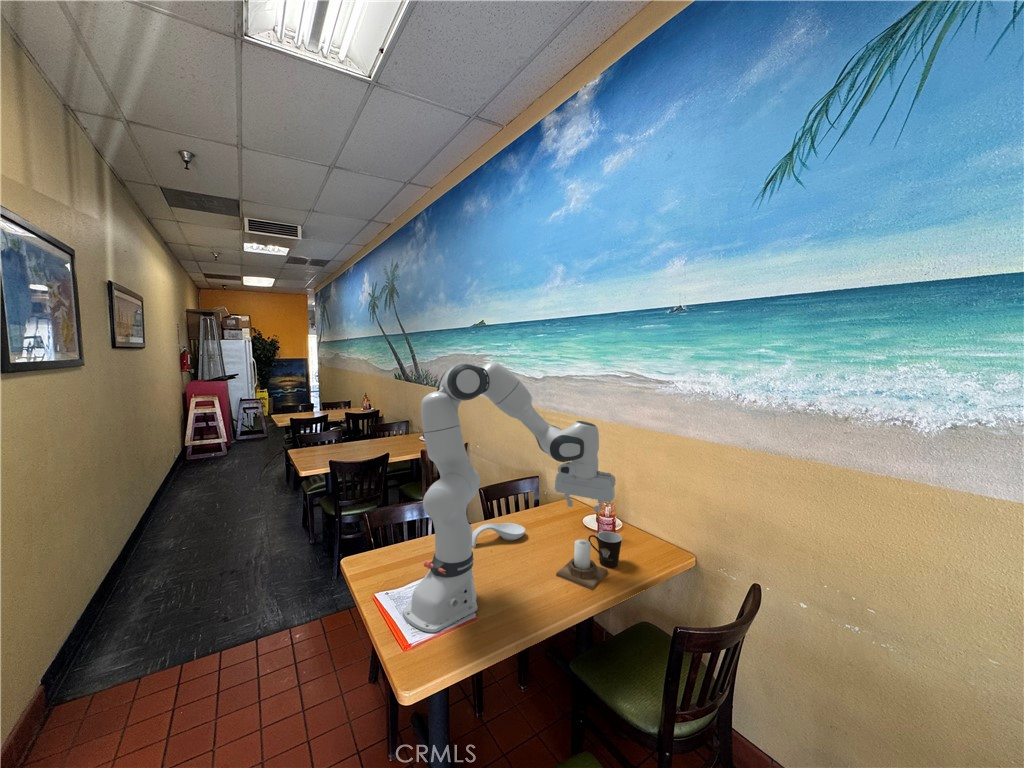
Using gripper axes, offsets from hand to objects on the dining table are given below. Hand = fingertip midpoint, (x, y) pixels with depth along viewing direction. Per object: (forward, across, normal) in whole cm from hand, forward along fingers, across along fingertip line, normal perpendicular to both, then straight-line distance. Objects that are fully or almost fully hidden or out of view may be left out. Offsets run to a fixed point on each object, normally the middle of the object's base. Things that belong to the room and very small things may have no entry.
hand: (583, 509), depth 131 cm
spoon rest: (+24, +37, -8) cm, 45 cm away
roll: (+22, 0, 0) cm, 22 cm away
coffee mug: (+23, -5, -12) cm, 27 cm away
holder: (+23, 0, 0) cm, 23 cm away
